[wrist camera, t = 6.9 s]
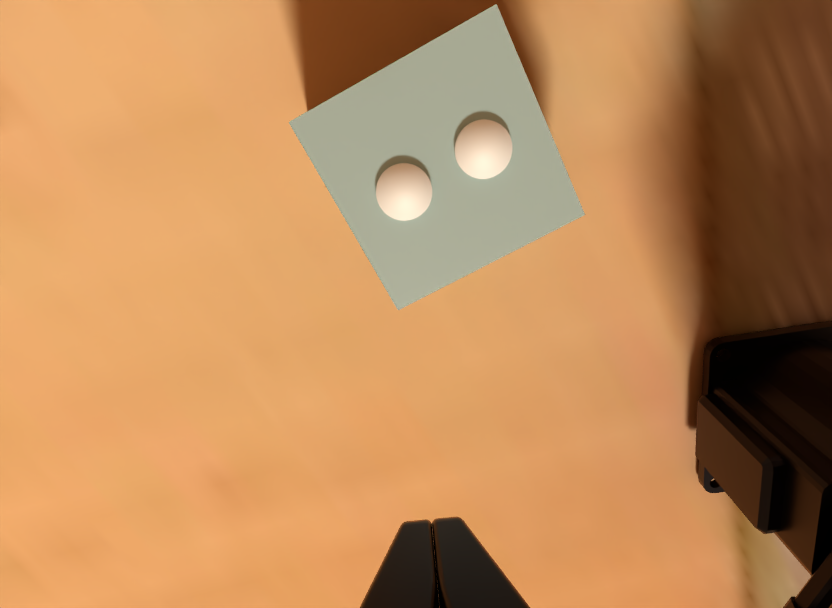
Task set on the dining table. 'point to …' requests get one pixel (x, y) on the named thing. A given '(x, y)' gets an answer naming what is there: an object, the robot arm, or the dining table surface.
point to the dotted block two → (441, 160)
